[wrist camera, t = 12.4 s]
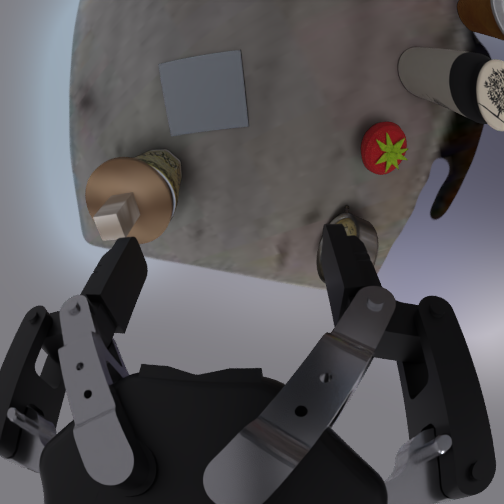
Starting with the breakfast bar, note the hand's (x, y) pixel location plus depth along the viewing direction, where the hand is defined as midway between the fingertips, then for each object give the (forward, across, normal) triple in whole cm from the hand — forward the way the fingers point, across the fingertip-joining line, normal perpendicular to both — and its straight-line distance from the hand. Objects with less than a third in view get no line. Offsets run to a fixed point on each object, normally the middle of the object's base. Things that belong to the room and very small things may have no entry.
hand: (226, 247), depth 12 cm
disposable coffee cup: (+30, -36, -20) cm, 51 cm away
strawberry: (+30, -17, +4) cm, 35 cm away
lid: (+20, +16, +7) cm, 27 cm away
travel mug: (+30, -25, -7) cm, 40 cm away
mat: (+30, +6, -4) cm, 31 cm away
